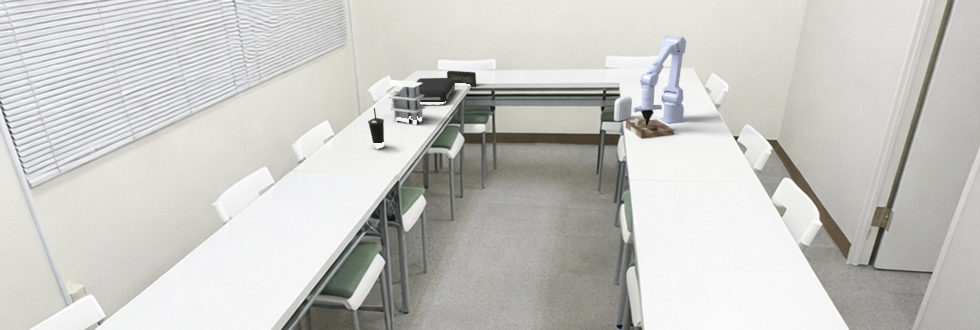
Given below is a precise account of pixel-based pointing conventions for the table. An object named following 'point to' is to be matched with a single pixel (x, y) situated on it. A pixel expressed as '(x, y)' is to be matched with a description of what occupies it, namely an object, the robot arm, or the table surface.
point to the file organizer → (406, 99)
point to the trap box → (650, 129)
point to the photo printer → (622, 108)
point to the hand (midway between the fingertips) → (646, 124)
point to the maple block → (640, 122)
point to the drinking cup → (377, 129)
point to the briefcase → (436, 89)
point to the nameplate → (463, 77)
